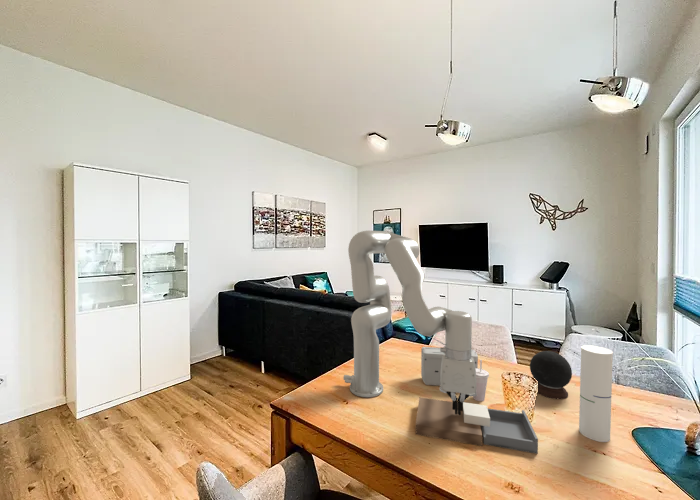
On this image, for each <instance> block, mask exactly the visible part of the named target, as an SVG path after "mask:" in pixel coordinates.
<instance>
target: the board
mask: <svg viewBox="0 0 700 500" xmlns="http://www.w3.org/2000/svg"><path fill="white" fill-rule="evenodd" d="M415 418H416V420H415V435H417V436H424V437H428V438H429V437H430V438H434V439H435V438H436V439H439V440H440V439H441V440H445V441H450V442H452V441H453V442H457V443H461V444H462V443H464V444H468V445H475V446H479V447H480V446H481V447H483V438H482V431H481V426H480V425H476V424H470V423H464V418H463V411H461V415H459V414H457V415H456V414H455V410H453V409H452V401H448V400H442V399H441V400H440V399H435V398H429V397H428V398H427V397H421V396H420V397H419V399H418V405H417V412H416V417H415Z"/></svg>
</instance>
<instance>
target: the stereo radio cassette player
mask: <svg viewBox="0 0 700 500" xmlns="http://www.w3.org/2000/svg"><path fill="white" fill-rule="evenodd" d="M428 337H430V338H432V339H433V340H435V341H436V342H438V343H440V344H441V345H444V346H445V342H442V341H440V340H438V339H436V338H434V337H432V336H428ZM420 354H421V356H420V358H421V365H420V369H421V371H420V372H421V373H420V374H421V379H422V382H423V383H424V384H425V385H426V386H439V387H440V376H441V363H442V358H443V355H444V353H443V352H440V347H434V346H433V347H432V346H431V347H430V346H422V347H421V353H420ZM471 357H472V358H473V359H474V362H475V368H478V367H479V366H478V364H479V363H478V362H479V361H478V360H479V356H478V353H477V351H476V350H475V349H472V352H471ZM478 369H479V368H478Z"/></svg>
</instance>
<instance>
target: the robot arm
mask: <svg viewBox="0 0 700 500" xmlns="http://www.w3.org/2000/svg"><path fill="white" fill-rule="evenodd" d="M347 248H348V249H347V250H348V258H349V263H350V272H351V273H350V274H351V284H352V294H353V298H354V300H355V301H356V302H358V303H361V304H362V303H369V304H368V305H364V306H361V307H358V308H357V309H355V310H354V311H353V313H352V314H351V318H350V322H351V329H352V333H353V334H352V335H353V374H352V375H349V374H344V375H343V380H344V384H345V383H346V384H350V385H349V391H350V392H351V393H352V395H353V394H354V395H355V396H358V397H362V398H374V397H377V396H379V395H381V394H382V393H383V391H384V386H383V384H382V383H381V382H380V340H379V337H378V335H377V330H379V329H381V328H384V327H386V326H387V325H389V323H390V322H391V319H392V302H391V292H390V286H389V284H388V281H387V280H386V279H385V277H383V276H380V275H375V272H374V271H375V269H374V264H373V260H372V259H371V256H370V255H371V254H385V256H386V258H387V260H388V262H389V264H390V266H391V268H392V270H393V272H394V274H395V275H396V277H397V279H398V282H399V283H400V285H401V296H402V304H403V308H404V311H405V313H406V315H407V317H408V320H409V321H410V323H411V326H413V328H414V329H415V331H416V332H417V333H419V334H420V335H421V336H424V337H429V336H430V337H432V336H434V335H436V334H438V333H439V332H440V333H441V332H443V331H444V332H445V333H444V335H445V340H444V344H445V345H444V346H443V347H439V348H440V352H443V353H444V355H443V358H442V363H441V376H440V386H439V391H440V392H441V393H444V394H446V395H447V396H448V397H449V398H450V399H451V402H452V409H453V410H455V414H456V415H457V414H459V415H461V411H463V402H465V401H466V400H467V399H468V398H470V397H472V398H473V396H477V393H476V368H475V362H474V359H473V358H472V357H471V352H472V350H473V349H472V347H473V346H472V344H473V343H472V341H473V340H472V339H473V338H472V336H473V335H472V334H473V333H472V332H473V331H472V330H473V329H472V328H473V325H472V324H473V319H472V315H471V314H470V313H469V312H465V311H460V310H452V309H448V308H445V307H441V306H433V307H431V308H428V306H427V304H426V301H425V300H424V297H423V292H422V291H423V290H422V289H423V288H422V287H423V283H424V281H425V278H426V275H425V273H424V270H423V269H422V267H421V265H420V263H419V261H418V260H417V259H418V257H419V256H420V251H421V250H420V247H419V244H418V243H417V241H415V240H414V239H412V238H409V237H406V236H404V235H399V234H396V233H392V232H390V231H386V230H384V231H383V230H362V231H359V232H358V233H356V234H354V235H353V236H352V237H351V239H350V241H349V243H348V247H347ZM456 394H459V395H458V397H457V395H456Z"/></svg>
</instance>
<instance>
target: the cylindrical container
mask: <svg viewBox="0 0 700 500" xmlns="http://www.w3.org/2000/svg"><path fill="white" fill-rule="evenodd" d="M613 354H614V352H613V351H612V350H611V349H609V348H606V347H602V346H597V345H591V344H585V345H581V346H580V375H579V377H580V379H579V380H580V382H579V383H580V384H579V411H578V412H579V415H578V416H579V417H578V431H579V433H580V434H581V435H582V436H584V437H586V438H587V439H590V440H591V441H592V440H593V441H596V442H598V443H599V442H600V443H608V442H610V441H611V429H612V427H611V425H612V419H611V418H612V391H613V390H612V389H613V387H612V386H613V359H614V358H613V357H614V355H613Z"/></svg>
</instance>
